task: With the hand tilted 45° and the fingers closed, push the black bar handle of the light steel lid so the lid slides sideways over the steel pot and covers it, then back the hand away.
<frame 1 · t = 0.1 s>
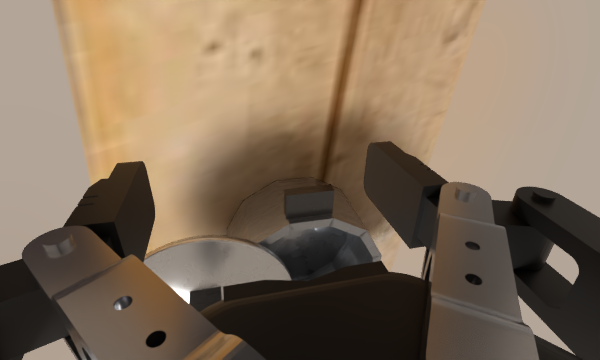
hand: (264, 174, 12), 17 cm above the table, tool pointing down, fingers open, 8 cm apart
lid: (209, 343, 25), point 11 cm above the table, slide at -9.0 cm
pot: (293, 233, 36), on the table
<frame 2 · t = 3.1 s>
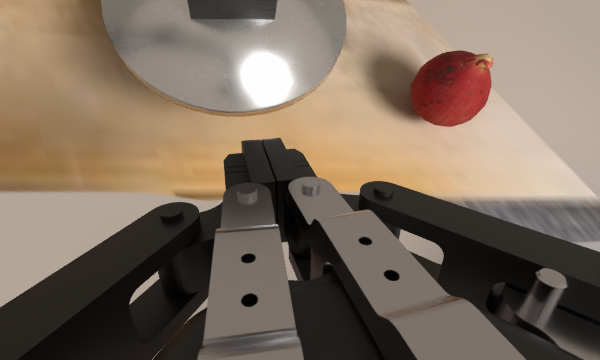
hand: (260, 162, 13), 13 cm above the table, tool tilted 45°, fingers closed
onion: (423, 113, 31), on the table
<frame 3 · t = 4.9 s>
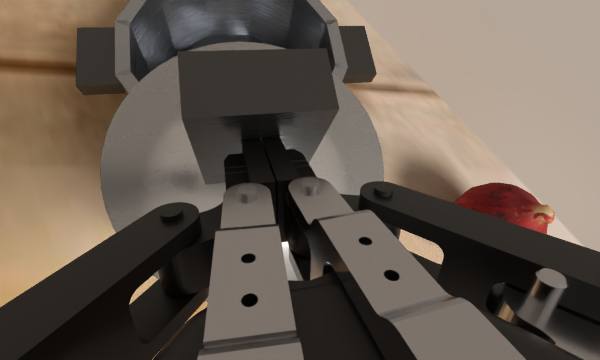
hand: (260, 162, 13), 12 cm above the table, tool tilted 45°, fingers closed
lid: (255, 132, 14), point 11 cm above the table, slide at -8.0 cm, touching gripper
onion: (460, 231, 27), on the table
pot: (237, 102, 27), on the table
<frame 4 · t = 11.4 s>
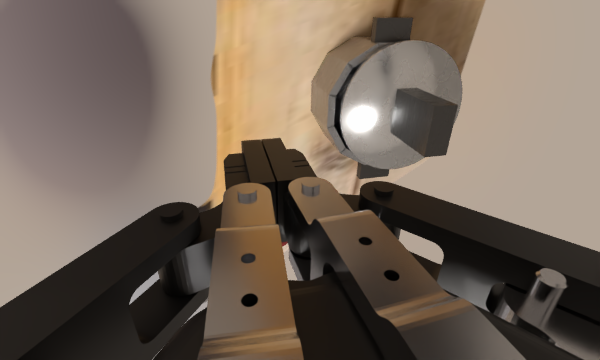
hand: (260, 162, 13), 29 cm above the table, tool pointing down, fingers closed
lid: (418, 119, 34), point 11 cm above the table, slide at 1.5 cm
pot: (362, 93, 44), on the table
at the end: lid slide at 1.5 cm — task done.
